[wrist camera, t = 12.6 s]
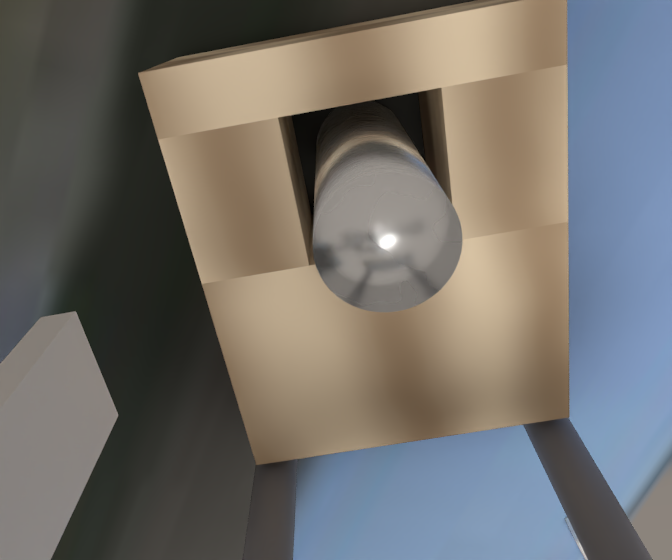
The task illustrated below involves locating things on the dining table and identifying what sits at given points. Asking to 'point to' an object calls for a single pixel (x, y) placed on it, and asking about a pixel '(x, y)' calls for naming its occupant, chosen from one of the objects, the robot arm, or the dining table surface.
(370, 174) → the peg
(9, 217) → the dining table surface
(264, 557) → the miniature white table
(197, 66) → the socket block
